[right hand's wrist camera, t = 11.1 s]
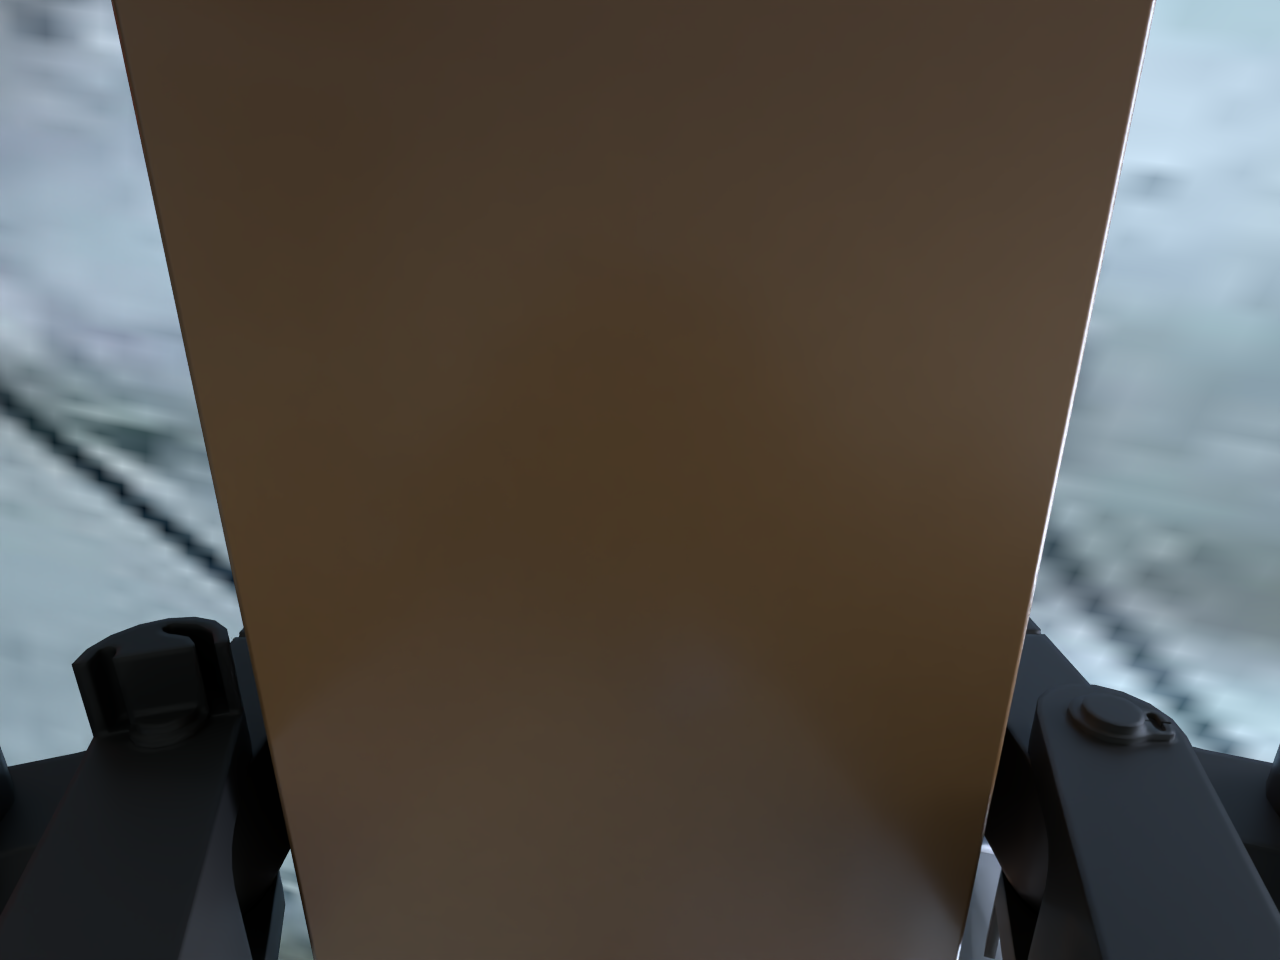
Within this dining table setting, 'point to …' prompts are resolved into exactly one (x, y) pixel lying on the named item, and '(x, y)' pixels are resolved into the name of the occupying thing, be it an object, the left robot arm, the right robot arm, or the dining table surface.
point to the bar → (634, 442)
